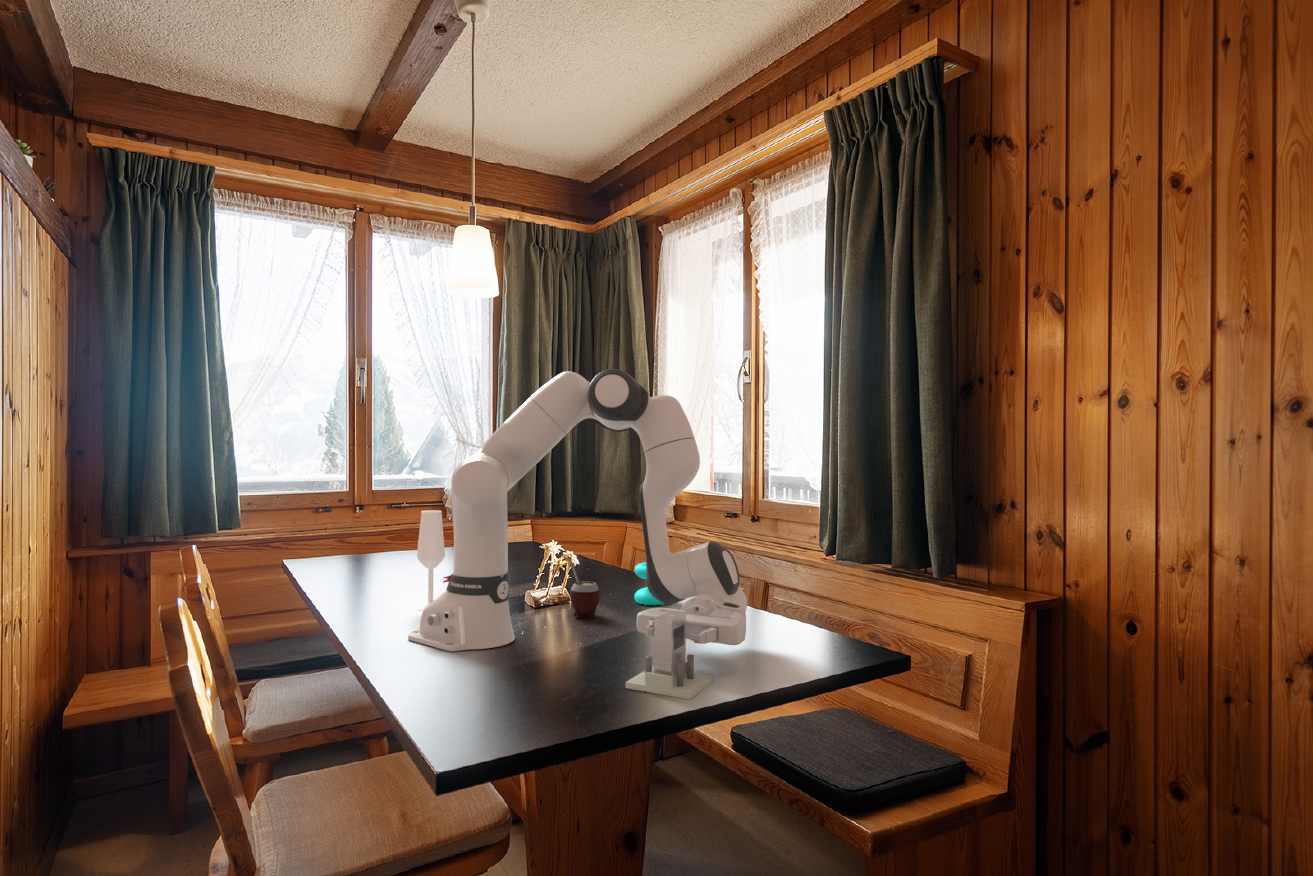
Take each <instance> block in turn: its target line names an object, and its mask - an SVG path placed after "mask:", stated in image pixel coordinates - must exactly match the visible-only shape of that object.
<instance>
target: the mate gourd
mask: <svg viewBox="0 0 1313 876" xmlns="http://www.w3.org/2000/svg"><path fill="white" fill-rule="evenodd" d="M561 558H564V560H566V561H567V562H568V563H569V565H570V568H571V570H572V572H573V575H574V577H575V578H574V579H575V581H576V582H574V583H573V584H572V586H571V588H570V592H569V600H570V604H571V606H572V608H573V609H574V613H573V616H575V620H577V619H578V620H580V619H581V618H582V619H584V618H587V619H591V618H595V619H596V617H597V616H595V615H596V611H597V607H598V605H599V602H600V598H601V592H600V588H599V586H598V584H597V583H596V582H594V581H590V580H589V581H586V580H585V581H583V580H582V581H580V580H579V577H578V574H577V572H576V569H575V565H574V562H572V560H570V558H568V557H566V556H565V555H563V554H561ZM582 619H581V620H582Z"/></svg>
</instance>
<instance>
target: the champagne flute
mask: <svg viewBox="0 0 1313 876" xmlns="http://www.w3.org/2000/svg"><path fill="white" fill-rule="evenodd" d="M419 522H420V523H419V524H420V525H419V531H418V532H419V533H418V540H417V541H418V542H417V550H416V551H417V552H416V557H417V560H418V562H419V563H420V564H421V565H422V566H423V567H424V568H425V569H427V570H428V574H427V575H428V577H427V578H428V581H427V583H428V585H427V586H428V587H427V588H428V589H427V590H428V591H427V596H428V597H427V599H428V600H427V601H425V602H423V603H422V604H421V605H419V606H418V607H416V610H417V611H420V612H423V610H424V609H425V608H426V607H427V606H428V605H429V604H431V603H432V602H433V601H434V600H435V599H434V569H436V568H437V567H438V566H439V565H440V564H441V563H442V562H443V560H444V559H445V557H446V549H445V538H444V526H443V515H442V510H439V509H438V510H435V509H434V510H431V509H430V510H421V513H420V521H419Z"/></svg>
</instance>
